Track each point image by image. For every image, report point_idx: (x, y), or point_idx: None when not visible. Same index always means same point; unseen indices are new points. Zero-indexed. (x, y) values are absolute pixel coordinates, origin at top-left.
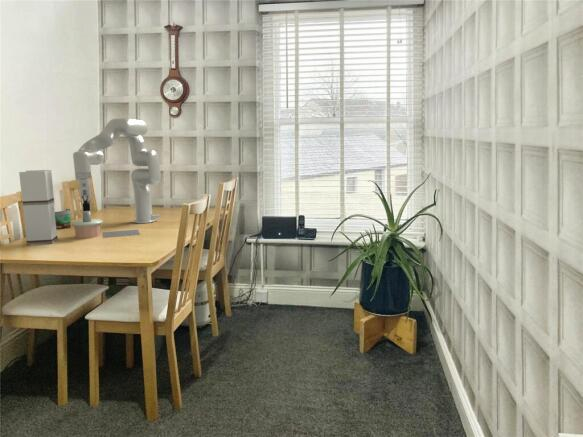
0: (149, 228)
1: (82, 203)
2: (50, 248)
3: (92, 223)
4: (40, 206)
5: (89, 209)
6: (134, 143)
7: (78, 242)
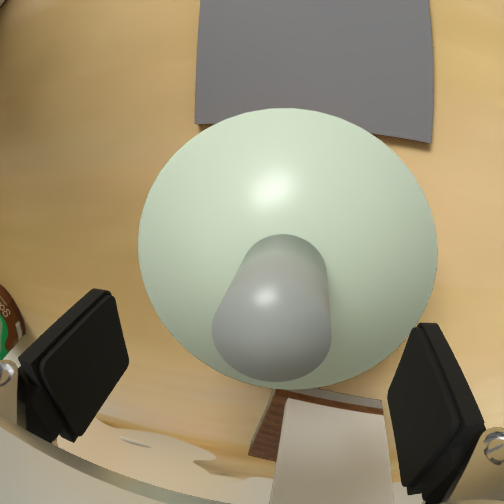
0: None
1: (417, 493)
2: (475, 395)
3: (436, 237)
4: None
5: (439, 338)
6: None
7: (444, 296)
